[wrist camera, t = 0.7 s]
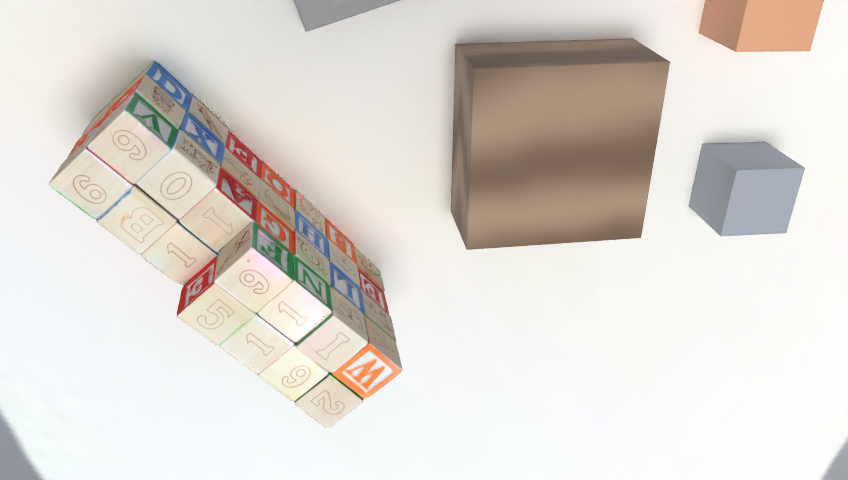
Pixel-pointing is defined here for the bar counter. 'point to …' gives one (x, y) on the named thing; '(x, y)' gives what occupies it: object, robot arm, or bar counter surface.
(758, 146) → the grey cube
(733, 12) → the rust cube
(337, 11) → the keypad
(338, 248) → the stack of blocks
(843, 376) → the bar counter surface
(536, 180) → the walnut block
